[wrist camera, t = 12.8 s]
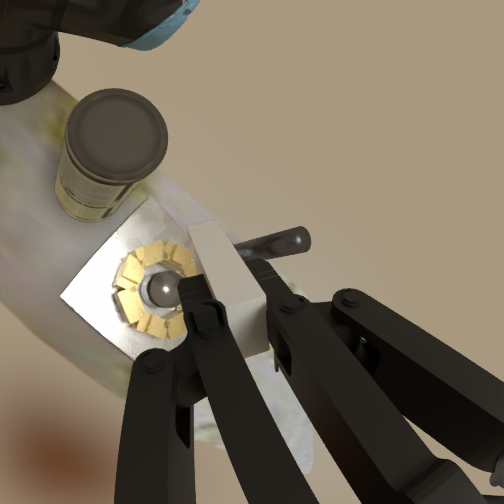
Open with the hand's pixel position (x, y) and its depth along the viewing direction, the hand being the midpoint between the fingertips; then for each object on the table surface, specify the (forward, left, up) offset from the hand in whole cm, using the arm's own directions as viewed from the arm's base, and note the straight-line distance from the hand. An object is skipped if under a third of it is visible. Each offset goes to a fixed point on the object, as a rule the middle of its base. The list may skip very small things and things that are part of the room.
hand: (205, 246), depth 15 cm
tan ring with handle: (+8, +8, -22) cm, 25 cm away
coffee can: (-10, +7, -25) cm, 27 cm away
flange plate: (+6, +4, -24) cm, 25 cm away
